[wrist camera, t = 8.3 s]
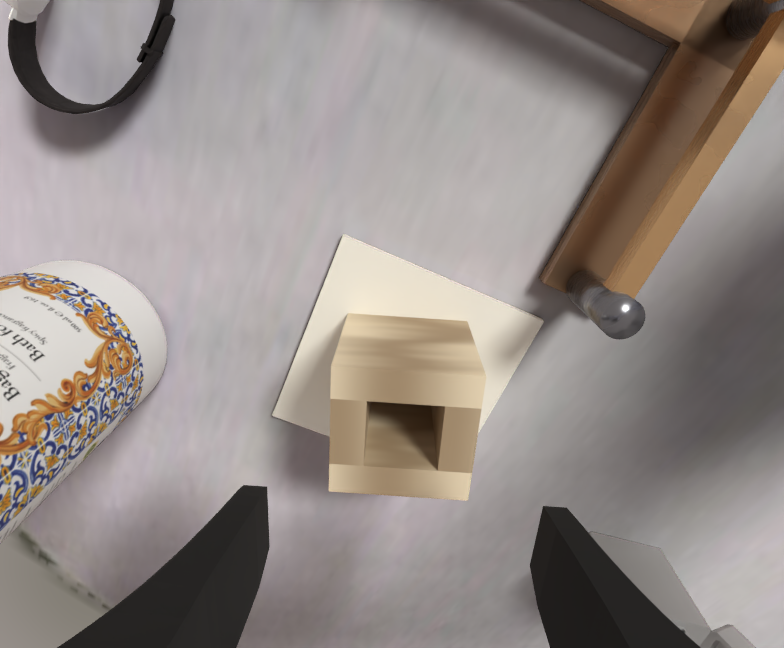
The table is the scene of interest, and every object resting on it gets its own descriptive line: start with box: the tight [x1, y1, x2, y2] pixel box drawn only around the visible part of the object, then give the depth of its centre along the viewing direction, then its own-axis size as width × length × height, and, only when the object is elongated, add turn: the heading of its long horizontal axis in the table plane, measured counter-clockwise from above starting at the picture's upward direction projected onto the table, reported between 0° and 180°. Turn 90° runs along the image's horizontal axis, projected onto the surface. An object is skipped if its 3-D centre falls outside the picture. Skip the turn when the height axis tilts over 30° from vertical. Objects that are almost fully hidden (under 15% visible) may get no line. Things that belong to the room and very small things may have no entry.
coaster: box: [272, 234, 544, 437], centre depth 21 cm, size 9×9×1 cm
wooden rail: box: [539, 0, 784, 339], centre depth 15 cm, size 14×12×4 cm
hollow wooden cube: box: [329, 313, 486, 501], centre depth 19 cm, size 5×5×5 cm
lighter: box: [589, 532, 756, 648], centre depth 21 cm, size 7×2×8 cm, turn 74°
